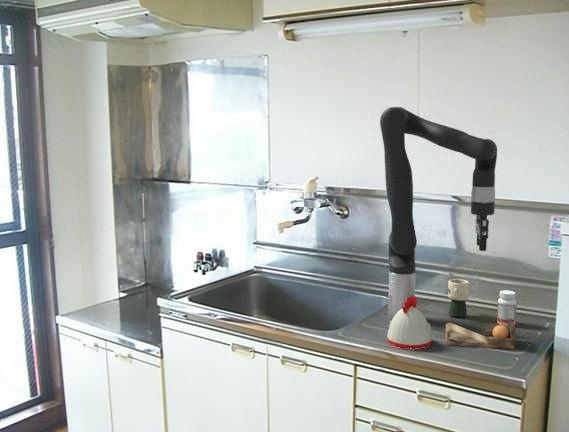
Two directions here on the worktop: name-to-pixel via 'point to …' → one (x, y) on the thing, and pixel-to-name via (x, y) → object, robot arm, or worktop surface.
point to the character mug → (458, 297)
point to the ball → (500, 332)
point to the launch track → (479, 337)
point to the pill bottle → (506, 308)
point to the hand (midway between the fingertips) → (481, 248)
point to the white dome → (409, 327)
